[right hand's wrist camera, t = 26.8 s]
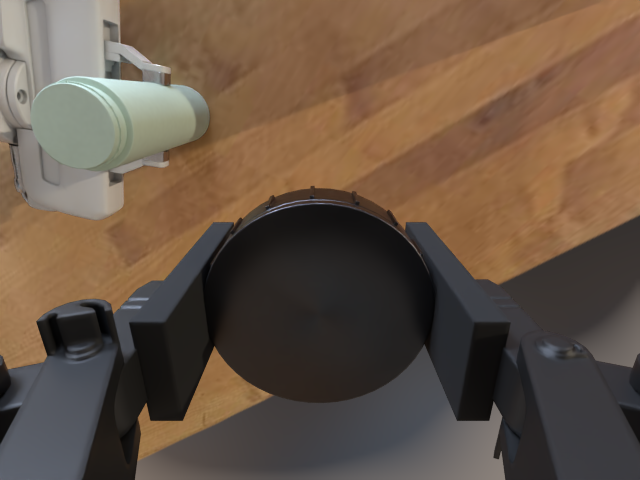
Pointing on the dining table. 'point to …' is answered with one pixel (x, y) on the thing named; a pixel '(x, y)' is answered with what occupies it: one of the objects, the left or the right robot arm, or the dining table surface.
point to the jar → (114, 120)
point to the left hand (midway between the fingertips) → (167, 118)
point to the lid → (319, 297)
